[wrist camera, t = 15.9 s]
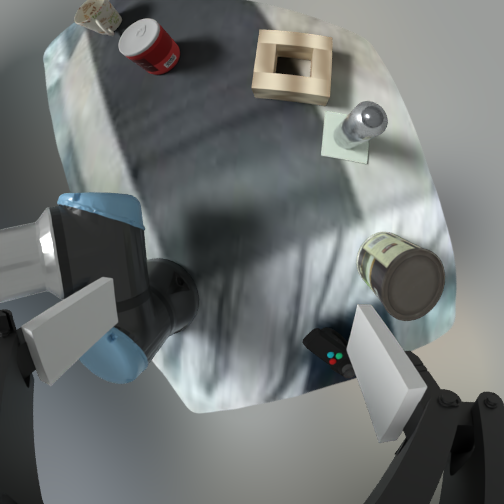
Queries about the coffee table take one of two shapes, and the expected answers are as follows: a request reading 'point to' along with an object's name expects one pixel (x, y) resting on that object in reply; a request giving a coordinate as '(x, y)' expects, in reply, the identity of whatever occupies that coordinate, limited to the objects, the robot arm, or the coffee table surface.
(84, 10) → the mug
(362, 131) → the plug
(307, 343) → the controller
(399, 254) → the coffee can
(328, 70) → the housing
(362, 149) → the pad
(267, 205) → the coffee table surface
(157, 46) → the canned food
